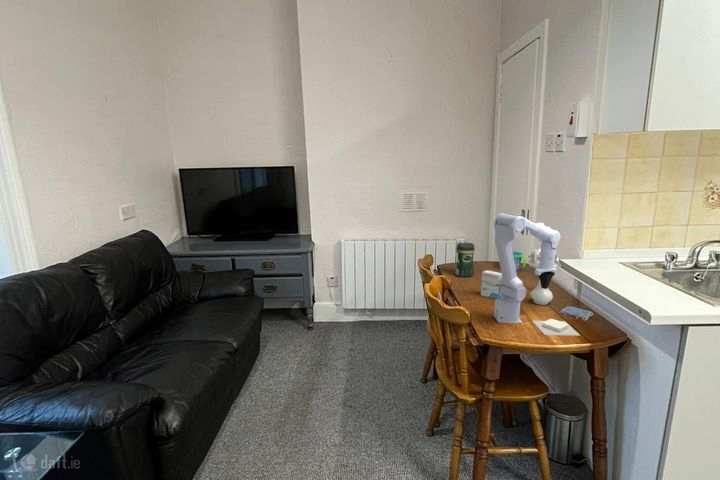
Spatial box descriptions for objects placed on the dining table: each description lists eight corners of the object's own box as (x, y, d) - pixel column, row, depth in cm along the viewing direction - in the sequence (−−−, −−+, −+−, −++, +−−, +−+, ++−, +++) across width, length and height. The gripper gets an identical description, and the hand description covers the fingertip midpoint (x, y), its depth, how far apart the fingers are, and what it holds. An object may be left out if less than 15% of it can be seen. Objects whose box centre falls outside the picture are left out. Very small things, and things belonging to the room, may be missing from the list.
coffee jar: (470, 273, 228) (472, 241, 224) (475, 277, 221) (477, 244, 217) (453, 273, 228) (455, 241, 224) (457, 277, 220) (459, 244, 216)
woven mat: (558, 315, 170) (558, 310, 170) (567, 308, 177) (568, 304, 177) (585, 322, 163) (585, 318, 162) (593, 315, 170) (594, 311, 169)
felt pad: (544, 335, 150) (544, 334, 150) (531, 321, 163) (532, 320, 162) (580, 336, 149) (580, 335, 149) (564, 322, 162) (564, 321, 162)
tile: (559, 328, 151) (568, 324, 156) (542, 322, 157) (551, 318, 161) (559, 332, 152) (568, 327, 156) (541, 326, 157) (551, 321, 161)
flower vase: (544, 295, 193) (549, 244, 188) (563, 309, 175) (569, 254, 170) (517, 295, 193) (521, 244, 188) (533, 309, 175) (539, 254, 170)
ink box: (501, 296, 191) (503, 273, 188) (497, 299, 187) (499, 275, 185) (485, 292, 196) (486, 269, 194) (480, 295, 193) (481, 271, 190)
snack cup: (494, 268, 238) (496, 251, 236) (506, 265, 244) (507, 249, 242) (517, 274, 225) (518, 257, 223) (529, 271, 231) (530, 254, 229)
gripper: (547, 262, 161) (544, 294, 164) (565, 256, 169) (562, 287, 172) (531, 258, 166) (528, 289, 169) (549, 253, 175) (546, 283, 178)
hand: (544, 288), depth 171 cm, fingers closed
